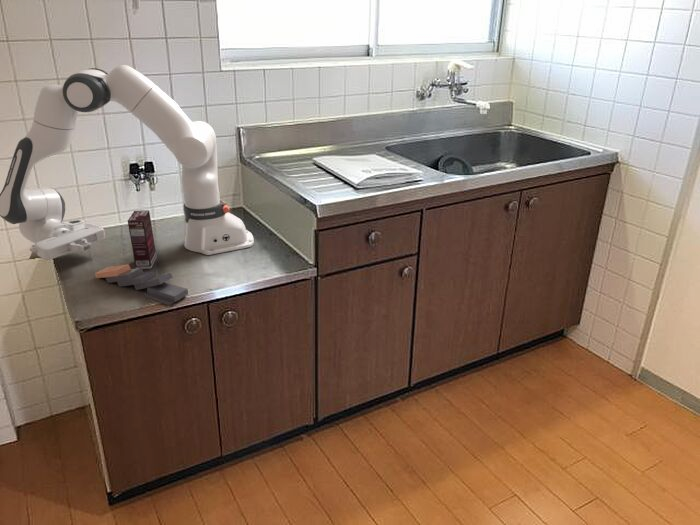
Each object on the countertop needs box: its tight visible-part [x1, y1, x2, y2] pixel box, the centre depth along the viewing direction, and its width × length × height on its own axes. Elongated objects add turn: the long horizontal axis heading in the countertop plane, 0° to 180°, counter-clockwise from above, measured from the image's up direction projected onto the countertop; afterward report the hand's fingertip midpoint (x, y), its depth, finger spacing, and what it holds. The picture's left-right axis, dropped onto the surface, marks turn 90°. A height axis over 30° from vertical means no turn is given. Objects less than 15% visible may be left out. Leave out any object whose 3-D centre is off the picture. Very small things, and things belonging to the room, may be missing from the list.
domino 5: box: [146, 281, 189, 303], centre depth 164 cm, size 2×5×10 cm
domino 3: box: [116, 270, 156, 287], centre depth 168 cm, size 2×5×10 cm
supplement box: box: [127, 209, 158, 270], centre depth 179 cm, size 9×5×16 cm, turn 5°
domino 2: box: [105, 267, 144, 284], centre depth 170 cm, size 2×5×10 cm
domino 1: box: [94, 264, 131, 279], centre depth 172 cm, size 2×5×10 cm
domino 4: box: [133, 271, 173, 291], centre depth 166 cm, size 2×5×10 cm
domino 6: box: [143, 291, 184, 306], centre depth 164 cm, size 2×5×10 cm
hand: (87, 247), depth 175 cm, fingers closed
